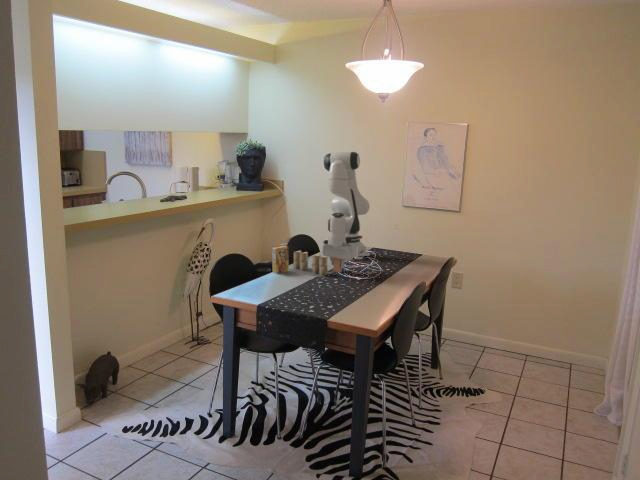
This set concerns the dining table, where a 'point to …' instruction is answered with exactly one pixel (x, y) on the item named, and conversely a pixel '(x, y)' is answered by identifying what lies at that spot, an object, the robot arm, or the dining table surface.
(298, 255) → the tile
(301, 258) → the tile
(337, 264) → the tile
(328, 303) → the dining table surface
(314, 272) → the tile
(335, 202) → the robot arm
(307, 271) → the slate board
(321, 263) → the tile
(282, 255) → the candy box
